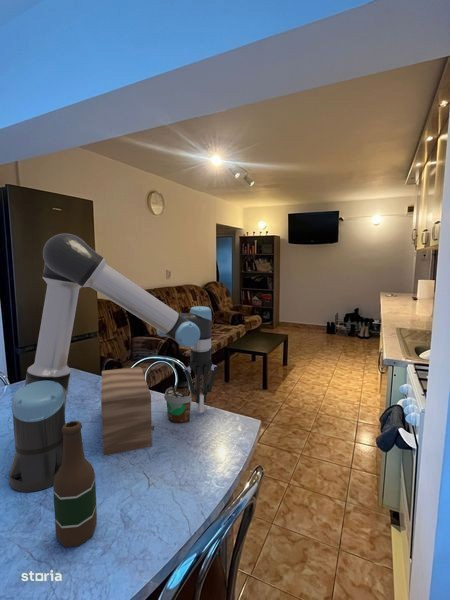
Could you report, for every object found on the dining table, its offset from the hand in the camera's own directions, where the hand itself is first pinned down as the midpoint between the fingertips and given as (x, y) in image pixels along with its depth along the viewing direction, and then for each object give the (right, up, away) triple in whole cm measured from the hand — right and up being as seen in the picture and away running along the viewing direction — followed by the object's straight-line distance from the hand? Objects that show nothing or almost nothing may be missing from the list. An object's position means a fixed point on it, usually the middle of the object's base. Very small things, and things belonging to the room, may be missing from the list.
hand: (200, 410), depth 116 cm
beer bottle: (-22, -8, -51) cm, 56 cm away
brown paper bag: (-25, -3, -9) cm, 27 cm away
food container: (-9, -2, -3) cm, 10 cm away
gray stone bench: (-20, -2, -7) cm, 21 cm away
